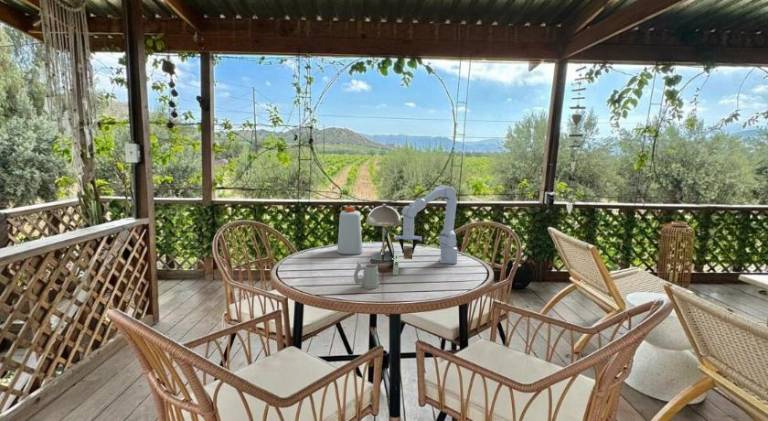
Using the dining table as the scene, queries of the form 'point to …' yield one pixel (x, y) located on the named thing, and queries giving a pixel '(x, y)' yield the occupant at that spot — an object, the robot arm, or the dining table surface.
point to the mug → (367, 276)
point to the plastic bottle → (349, 232)
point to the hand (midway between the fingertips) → (407, 253)
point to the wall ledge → (395, 264)
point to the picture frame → (388, 243)
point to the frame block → (407, 252)
